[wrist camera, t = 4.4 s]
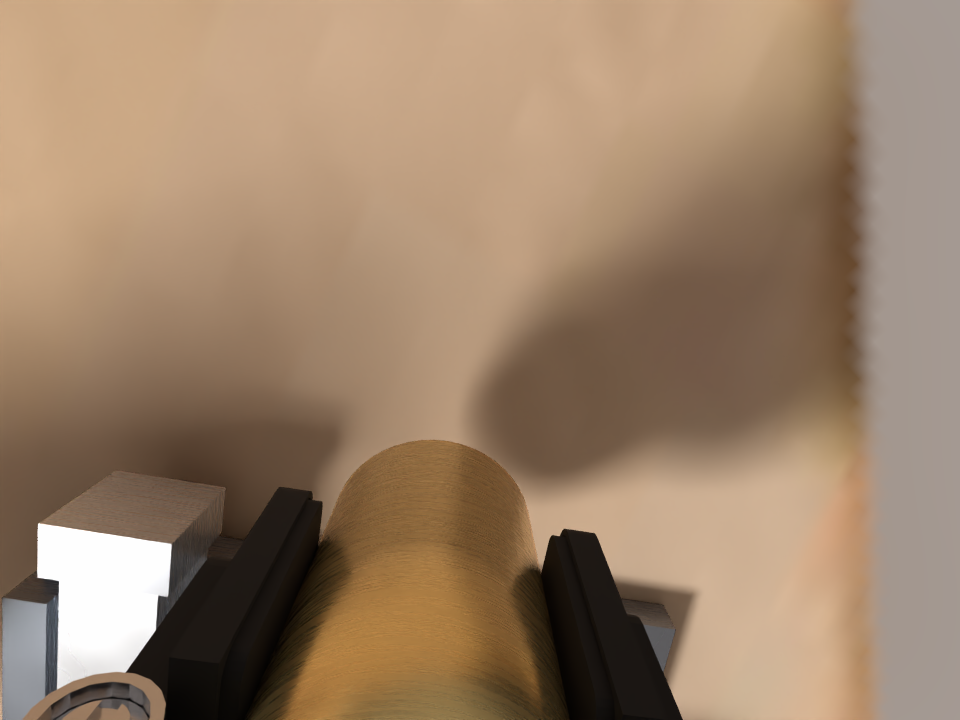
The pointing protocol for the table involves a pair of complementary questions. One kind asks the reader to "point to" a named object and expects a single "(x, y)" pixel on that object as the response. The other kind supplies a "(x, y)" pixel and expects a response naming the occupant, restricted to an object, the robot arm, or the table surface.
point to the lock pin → (123, 564)
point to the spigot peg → (419, 601)
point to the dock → (36, 635)
